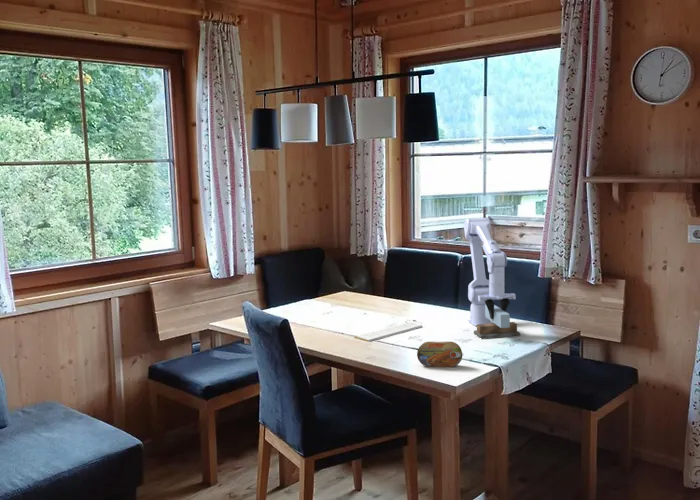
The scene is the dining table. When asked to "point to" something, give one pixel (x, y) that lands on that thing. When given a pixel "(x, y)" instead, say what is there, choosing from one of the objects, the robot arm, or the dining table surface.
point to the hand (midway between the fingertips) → (496, 318)
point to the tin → (439, 354)
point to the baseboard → (388, 331)
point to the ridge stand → (496, 331)
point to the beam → (499, 317)
